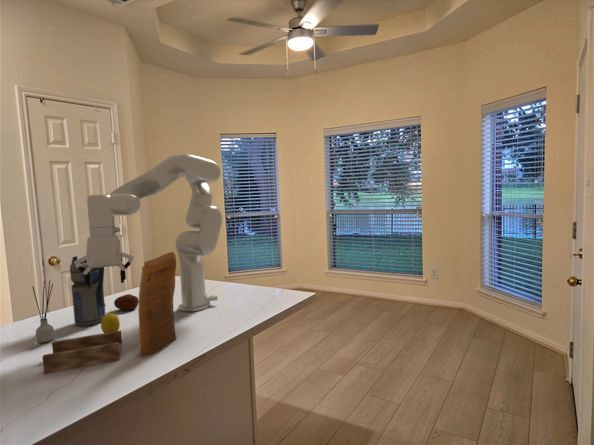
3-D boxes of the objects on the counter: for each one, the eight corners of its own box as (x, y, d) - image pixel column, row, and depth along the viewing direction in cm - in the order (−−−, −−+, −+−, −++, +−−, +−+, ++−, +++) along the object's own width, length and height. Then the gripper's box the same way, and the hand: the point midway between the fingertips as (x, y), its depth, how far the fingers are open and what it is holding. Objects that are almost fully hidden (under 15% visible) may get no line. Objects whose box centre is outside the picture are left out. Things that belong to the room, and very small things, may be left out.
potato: (131, 312, 145) (129, 297, 145) (111, 312, 147) (109, 296, 147) (142, 307, 152) (140, 292, 152) (122, 306, 154) (121, 292, 154)
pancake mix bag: (188, 334, 119) (182, 250, 117) (150, 360, 101) (143, 261, 99) (170, 333, 121) (165, 250, 119) (130, 359, 103) (122, 261, 101)
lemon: (123, 335, 121) (121, 312, 120) (105, 340, 117) (103, 316, 116) (116, 331, 125) (115, 309, 124) (99, 336, 121) (97, 313, 120)
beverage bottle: (97, 328, 129) (91, 259, 127) (66, 326, 132) (60, 259, 130) (117, 318, 139) (112, 254, 137) (88, 317, 142) (83, 254, 140)
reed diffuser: (47, 336, 123) (41, 278, 121) (67, 336, 123) (62, 278, 121) (25, 349, 112) (18, 286, 111) (47, 348, 113) (41, 285, 111)
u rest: (122, 345, 113) (121, 330, 113) (119, 360, 102) (118, 343, 102) (54, 356, 106) (53, 341, 106) (44, 374, 96) (42, 357, 95)
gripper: (132, 229, 125) (135, 278, 126) (74, 233, 119) (78, 284, 120) (131, 231, 118) (134, 283, 119) (69, 235, 112) (73, 289, 113)
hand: (106, 283), depth 119 cm, fingers open, 9 cm apart
